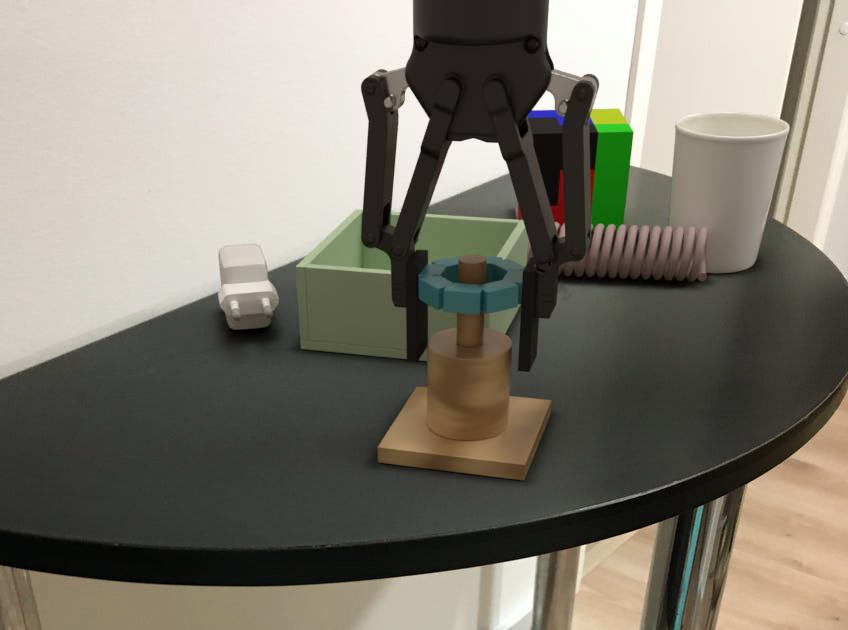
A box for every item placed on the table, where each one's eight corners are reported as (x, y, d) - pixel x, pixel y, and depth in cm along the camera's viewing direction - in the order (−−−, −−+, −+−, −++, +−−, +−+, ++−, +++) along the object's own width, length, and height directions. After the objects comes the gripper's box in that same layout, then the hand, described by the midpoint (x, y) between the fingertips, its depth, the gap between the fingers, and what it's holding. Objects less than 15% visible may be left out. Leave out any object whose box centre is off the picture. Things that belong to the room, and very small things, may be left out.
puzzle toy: (515, 210, 120) (520, 110, 114) (608, 209, 119) (618, 108, 113) (521, 240, 112) (527, 133, 106) (621, 238, 111) (633, 131, 105)
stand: (550, 415, 80) (564, 239, 72) (524, 481, 72) (536, 292, 65) (416, 400, 82) (416, 229, 75) (377, 462, 75) (373, 279, 67)
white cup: (636, 259, 106) (652, 124, 99) (699, 236, 111) (719, 106, 104) (722, 284, 100) (746, 142, 93) (785, 259, 105) (812, 123, 98)
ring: (535, 280, 73) (536, 259, 72) (515, 318, 68) (516, 295, 67) (435, 273, 75) (435, 252, 74) (408, 309, 69) (407, 287, 69)
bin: (524, 298, 99) (529, 220, 94) (487, 367, 87) (490, 281, 83) (358, 284, 102) (355, 209, 98) (300, 349, 91) (295, 266, 87)
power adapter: (286, 354, 90) (281, 282, 86) (226, 359, 89) (219, 287, 86) (272, 305, 99) (266, 238, 95) (217, 310, 98) (210, 243, 95)
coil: (712, 223, 100) (513, 216, 103) (715, 233, 96) (508, 225, 100) (704, 275, 103) (510, 267, 106) (707, 287, 99) (505, 278, 102)
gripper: (287, -37, 59) (313, 367, 73) (661, -38, 54) (614, 396, 68) (331, -53, 65) (348, 325, 79) (674, -55, 60) (628, 349, 74)
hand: (471, 357), depth 74 cm, fingers closed on ring, 7 cm apart
